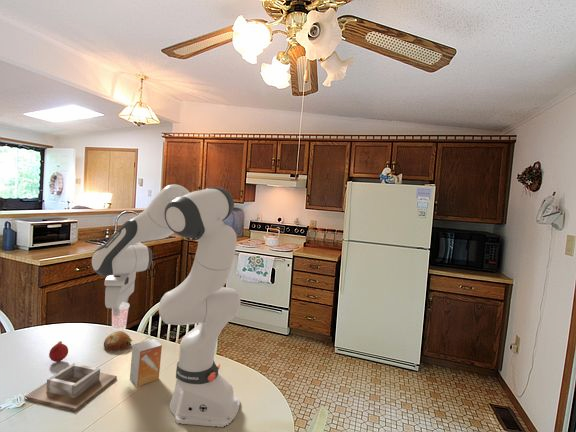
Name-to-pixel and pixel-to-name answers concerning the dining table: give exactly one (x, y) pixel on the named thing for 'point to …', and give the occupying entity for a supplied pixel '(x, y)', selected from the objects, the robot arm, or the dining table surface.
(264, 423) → the dining table surface
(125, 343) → the bread roll
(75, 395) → the walnut board
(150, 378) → the small box
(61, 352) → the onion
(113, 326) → the beverage cup
